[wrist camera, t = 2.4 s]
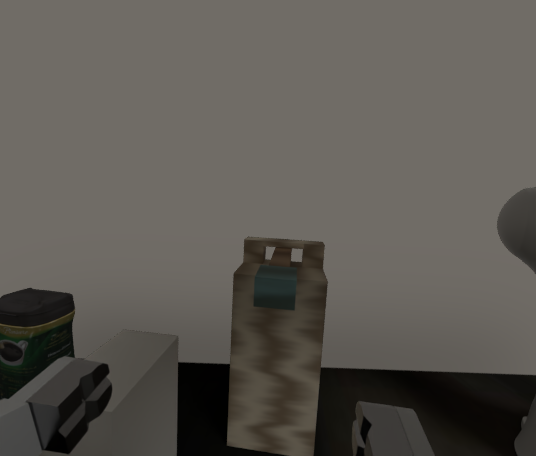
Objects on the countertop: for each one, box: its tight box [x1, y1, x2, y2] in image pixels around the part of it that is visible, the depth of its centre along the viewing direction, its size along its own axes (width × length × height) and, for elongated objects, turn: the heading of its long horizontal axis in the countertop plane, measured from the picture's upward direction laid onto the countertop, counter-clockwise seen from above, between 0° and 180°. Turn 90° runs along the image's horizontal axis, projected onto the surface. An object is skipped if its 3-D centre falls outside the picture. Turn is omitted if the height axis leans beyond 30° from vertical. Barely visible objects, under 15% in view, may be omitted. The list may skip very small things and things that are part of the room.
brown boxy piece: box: [227, 237, 328, 456], centre depth 38 cm, size 12×9×29 cm
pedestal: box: [38, 330, 178, 456], centre depth 26 cm, size 7×11×18 cm, turn 173°
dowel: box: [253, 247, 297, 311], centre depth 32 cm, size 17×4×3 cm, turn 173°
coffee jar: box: [0, 288, 75, 400], centre depth 40 cm, size 10×8×19 cm
